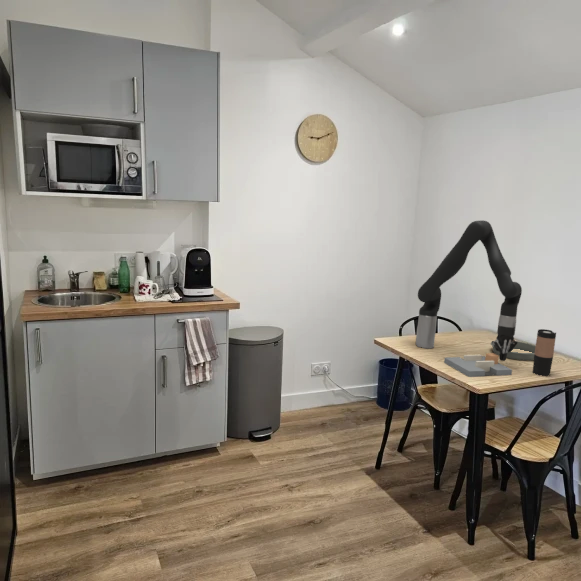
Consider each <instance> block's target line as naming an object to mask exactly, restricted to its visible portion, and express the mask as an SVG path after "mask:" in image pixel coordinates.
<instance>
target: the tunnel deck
mask: <svg viewBox="0 0 581 581" xmlns="http://www.w3.org/2000/svg"><path fill="white" fill-rule="evenodd" d="M485 358H486V355H482V354H463V358H462V357H460V356H453V357H451V356H450V357H448V356H447V357H444V361H443V363H444V364H446V365H448V366H449V367H451V368H453V369H454V370H456V371H458V372H460V373H461V374H463V375H465V376H466V377H469V378H472V377H473V378H474V377H496V376H512V372H513V369H512V368H509V367H508V366H505V365H504V364H501V363H500V362H498V364H494V361H485Z"/></svg>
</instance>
